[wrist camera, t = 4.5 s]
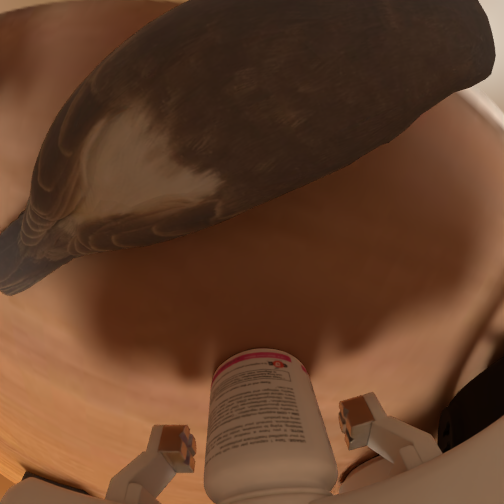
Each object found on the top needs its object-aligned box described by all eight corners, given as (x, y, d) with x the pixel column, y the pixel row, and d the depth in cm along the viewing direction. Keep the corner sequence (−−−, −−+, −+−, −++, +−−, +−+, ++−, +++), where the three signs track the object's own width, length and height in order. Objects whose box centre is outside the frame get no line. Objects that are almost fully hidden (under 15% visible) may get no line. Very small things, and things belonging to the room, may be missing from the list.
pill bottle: (193, 389, 13) (172, 541, 5) (251, 327, 12) (269, 514, 4) (266, 423, 14) (282, 555, 6) (326, 371, 13) (382, 517, 5)
